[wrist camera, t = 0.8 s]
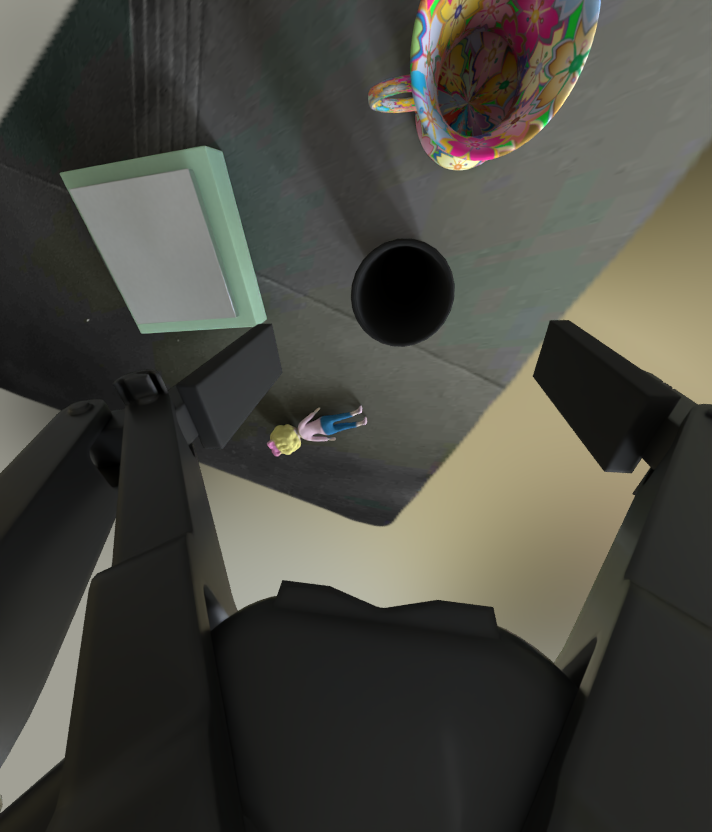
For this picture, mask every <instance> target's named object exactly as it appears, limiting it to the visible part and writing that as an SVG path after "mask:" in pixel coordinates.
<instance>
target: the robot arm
mask: <svg viewBox="0 0 712 832" xmlns="http://www.w3.org/2000/svg"><path fill="white" fill-rule="evenodd" d="M281 374H282V368H281V363H280V359H279V354H278V350H277V345H276V340H275V336H274V331H273V326H272V324H257V325H256V326H254V327H253V328H252V329H250V330H249V331H248V332H246V333H245V334H244V335H242V336H241V337H240V338H238V339H237V340H236V341H234V342H233V343H231V344H230V345H229V346H227V347H226V348H225V349H223V350H222V351H221V352H219V353H218V354H217V355H215V356H214V357H213V358H211V359H210V360H209V361H207V362H206V363H204V364H203V365H202V366H200V367H199V368H198V369H196V370H195V371H194V372H192V373H191V374H190V375H188V376H187V377H186V378H184V379H183V380H181V381H180V382H179V383H177V384H176V385H175V386H173V387H172V388H171V389H169V390H168V391H167V389H166V387H165V385H164V382H163V380H162V378H161V376H160V374H159V372H158V371H157V370H153V369H147V370H140V371H135V372H132V373H128V374H126V375H124V376H121V377H119V378H118V379H116V380H115V381H114V383H113V385H114V387H115V389H116V390H117V392H118V394H119V395H120V397H121V399H122V400H123V402H124V404H125V409H119V410H112V411H110V410H109V408H108V406H107V405H106V403H105V402H104V401H103V400H101V399H92V400H86V401H79V402H76V403H73V404H71V405H70V406H69V407H67V408H65V409H63V410H62V411H60V412H59V413H58V414H57V415H56V416H55V417H54V418H53V419H52V420H51V421H50V422H49V423H48V425H46V427H44V428H43V430H42V431H41V432H40V433H39V434H38V435H37V436H36V437H35V438H34V439H33V440H32V441H31V442H30V443H29V444H28V445H27V446H26V447H25V448H24V449H23V450H22V451H21V452H20V454H18V455H17V457H16V458H15V459H14V460H13V461H12V462H11V463H10V464H9V465H8V466H7V467H6V468H5V469H4V470H3V471H2V472H1V473H0V768H1V766H2V764H3V763H4V761H5V760H6V758H7V756H8V755H9V753H10V751H11V749H12V747H13V745H14V744H15V742H16V740H17V738H18V736H19V735H20V733H21V731H22V729H23V728H24V726H25V724H26V722H27V720H28V718H29V717H30V714H31V712H32V710H33V708H34V706H35V704H36V702H37V700H38V698H39V695H40V693H41V691H42V689H43V687H44V685H45V683H46V680H47V678H48V676H49V673H50V671H51V668H52V666H53V664H54V662H55V659H56V657H57V654H58V652H59V650H60V648H61V645H62V643H63V641H64V638H65V636H66V633H67V631H68V629H69V626H70V624H71V622H72V619H73V617H74V615H75V612H76V610H77V608H78V605H79V603H80V601H81V598H82V596H83V594H84V591H85V589H86V586H87V584H88V582H89V579H90V577H91V575H92V572H93V570H94V568H95V565H96V563H97V561H98V558H99V556H100V554H101V551H102V549H103V547H104V544H105V542H106V539H107V537H108V535H109V533H110V530H111V528H112V525H113V523H114V521H115V518H116V524H115V536H114V548H113V560H112V567H110V568H108V569H106V570H104V571H102V572H100V573H97V574H96V576H94V578H93V579H92V581H91V584H90V588H89V592H88V599H87V606H86V613H85V620H84V627H83V634H82V641H81V648H80V656H79V662H78V669H77V676H76V683H75V690H74V698H73V704H72V711H71V718H70V725H69V732H68V740H67V746H66V753H65V758H64V759H63V760H62V761H60V762H59V763H58V764H57V765H56V766H55V767H53V768H52V769H51V770H50V771H49V772H48V773H47V774H45V775H44V776H43V777H42V778H41V779H40V780H38V781H37V782H36V783H35V784H34V785H33V786H31V787H30V788H29V789H28V790H27V791H26V792H25V793H23V794H22V795H21V796H20V797H19V798H18V799H17V800H15V801H14V802H13V803H12V804H11V805H10V806H8V807H7V808H6V809H5V810H4V811H3V812H2V813H0V832H712V405H711V404H699V405H698V404H696V403H695V402H693V401H692V400H690V399H689V398H687V397H686V396H684V395H683V394H681V393H680V392H678V391H677V390H675V389H672V387H671V386H669V385H668V384H666V383H663V381H662V380H660V379H659V378H657V377H656V376H654V375H653V374H651V373H649V372H646V371H644V370H641V369H640V368H638V367H637V366H636V365H634V364H632V363H631V362H630V361H628V360H627V359H625V358H624V357H622V356H621V355H619V354H618V353H616V352H615V351H613V350H612V349H610V348H609V347H607V346H606V345H605V344H603V343H602V342H600V341H599V340H597V339H596V338H594V337H593V336H591V335H590V334H588V333H587V332H585V331H584V330H582V329H581V328H580V327H578V326H577V325H575V324H574V323H572V322H571V321H569V320H550V322H549V325H548V329H547V332H546V335H545V338H544V342H543V345H542V348H541V351H540V355H539V358H538V361H537V364H536V367H535V371H534V374H533V377H534V379H535V380H536V381H537V382H538V384H539V385H540V386H541V388H542V389H543V391H544V392H545V393H546V395H547V396H548V397H549V398H550V400H551V401H552V402H553V404H554V405H555V407H556V408H557V409H558V411H559V412H560V413H561V415H562V416H563V417H564V419H565V420H566V421H567V422H568V424H569V425H570V427H571V428H572V429H573V431H574V432H575V433H576V435H577V436H578V437H579V439H580V440H581V441H582V443H583V444H584V445H585V446H586V448H587V449H588V451H589V452H590V453H591V455H592V456H593V457H594V459H595V460H596V461H597V463H598V464H599V465H600V466H601V468H602V469H603V470H604V471H605V472H620V473H632V472H633V471H634V469H635V468H636V466H637V464H638V463H639V462H640V460H641V458H643V459H644V461H645V462H646V463H647V464H648V465H649V466H650V469H649V470H648V472H647V473H646V475H645V476H644V478H643V479H642V481H641V482H640V483H639V485H638V486H637V488H636V489H635V491H634V492H633V495H635V497H634V500H633V501H632V504H631V506H630V508H629V510H628V512H627V514H626V516H625V518H624V521H623V523H622V525H621V527H620V529H619V531H618V533H617V535H616V538H615V540H614V542H613V544H612V546H611V548H610V550H609V552H608V555H607V557H606V559H605V561H604V563H603V565H602V567H601V569H600V572H599V574H598V576H597V578H596V580H595V582H594V584H593V586H592V589H591V591H590V593H589V595H588V597H587V599H586V601H585V603H584V606H583V608H582V610H581V612H580V614H579V616H578V619H577V621H576V623H575V625H574V627H573V629H572V631H571V633H570V635H569V637H568V640H567V642H566V644H565V646H564V648H563V649H562V651H561V653H560V654H559V656H558V657H557V659H556V661H555V662H554V663H553V662H552V661H551V660H550V659H548V658H547V657H546V656H545V655H544V654H543V653H541V652H540V651H539V650H538V649H536V648H535V647H534V646H532V645H531V644H529V643H528V642H526V641H525V640H523V639H522V638H520V637H519V636H517V635H515V634H513V633H512V632H510V631H508V630H506V629H504V628H502V627H499V626H497V623H496V618H495V614H494V608H493V607H488V606H480V605H473V604H465V603H456V602H449V601H441V600H434V601H428V602H421V603H415V604H408V605H401V606H394V607H388V608H380V607H376V606H374V605H372V604H369V603H367V602H365V601H363V600H360V599H358V598H356V597H353V596H351V595H349V594H346V593H344V592H342V591H340V590H337V589H335V588H333V587H331V586H325V585H316V584H308V583H301V582H293V581H284V580H282V583H281V586H280V589H279V592H278V595H277V596H274V597H270V598H266V599H263V600H260V601H257V602H255V603H253V604H250V605H248V606H246V607H244V608H243V609H241V610H239V611H238V610H237V608H236V605H235V602H234V600H233V596H232V593H231V589H230V585H229V581H228V577H227V573H226V569H225V565H224V561H223V557H222V553H221V549H220V545H219V541H218V537H217V533H216V529H215V525H214V521H213V517H212V514H211V510H210V506H209V501H208V498H207V494H206V490H205V486H204V482H203V478H202V474H201V470H200V466H199V462H198V458H197V454H196V450H195V448H194V446H193V444H192V442H193V441H194V440H195V439H196V438H197V436H198V437H199V439H200V441H201V443H202V445H203V448H210V449H222V448H223V447H224V446H225V445H226V443H227V442H228V441H229V440H230V438H231V437H232V436H233V435H234V433H235V432H236V431H237V429H238V428H239V427H240V426H241V424H242V423H243V422H244V421H245V419H246V418H247V417H248V416H249V414H250V413H251V412H252V410H253V409H254V408H255V407H256V405H257V404H258V403H259V402H260V400H261V399H262V398H263V397H264V395H265V394H266V393H267V391H268V390H269V389H270V388H271V386H272V385H273V384H274V383H275V381H276V380H277V379H278V378H279V376H280V375H281ZM2 805H3V804H2V796H1V795H0V811H1V808H2Z"/></svg>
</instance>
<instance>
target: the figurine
mask: <svg viewBox="0 0 712 832" xmlns="http://www.w3.org/2000/svg"><path fill="white" fill-rule="evenodd" d="M319 409H320V408H317V409H316V410H315V411H314V412H313V413H310V414H309V415H308V416H307V417H306V418H305V419H303V420H302V421H301V422H300V423H299V426H298V428H296V427H293V426H291V425H289V424H286V425H284V426H283V425H278V426H276V427H275V429H274V431H273V432H272V433H271V435H270V441H269V442H268V443H267V445H268V447H269V448H271V449H272V453H273V454H274V455H275V456H278V455H280V454H281V453H284V454H286V455H289V454H291V453H292V452H294V451H296V450H297V449H298V448H299V447H300V445H301V440H300V436H301V437H302V438H303V439H305V440H308V441H327V440H332V441H334V440H336V438H335V437H331V438H328V437H314V436H313V435H314V434H316V433H320V434H324V435H331V434H334V433H336V432H339V431H342V430H345V429H349V428H355V427H358V426H360V425H366V424H367V417H365V418H364V419H363V421H361V422H352V423H348V422H347V423H339V424H335V425H333V423H334V422H336V421H340V420H343V419H346V418H349V417H353V416H355V415H356V414H359V413H362V406H359V408H358V409H357V410H355V411H353V412H347V413H341V414H337V415H327V416H322V417H320V418H319V419H317V420H315V421H312V422H310V423H307V422H308V421H309V420H310V419H311V418H312V417H313V416H314V415H315V414H316V413H317V412H318V410H319Z"/></svg>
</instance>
